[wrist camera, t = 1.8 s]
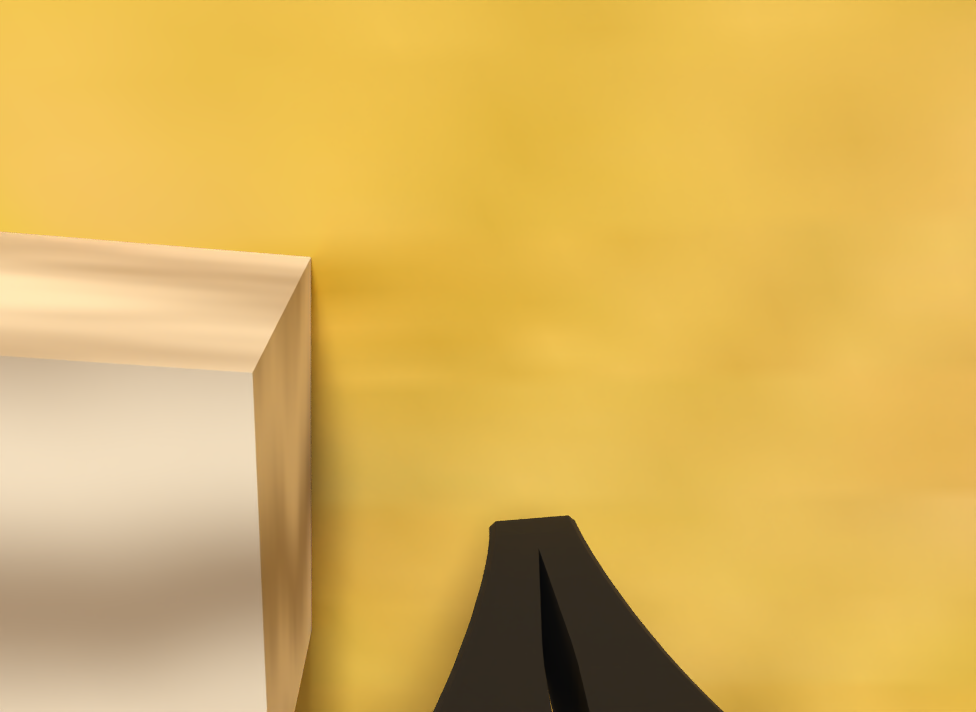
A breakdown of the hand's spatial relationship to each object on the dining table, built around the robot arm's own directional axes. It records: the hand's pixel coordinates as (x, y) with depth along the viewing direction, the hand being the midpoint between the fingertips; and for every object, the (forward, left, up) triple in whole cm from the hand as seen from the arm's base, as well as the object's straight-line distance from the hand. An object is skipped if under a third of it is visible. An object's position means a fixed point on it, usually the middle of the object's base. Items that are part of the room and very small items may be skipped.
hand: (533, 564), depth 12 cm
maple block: (0, +8, -5) cm, 9 cm away
